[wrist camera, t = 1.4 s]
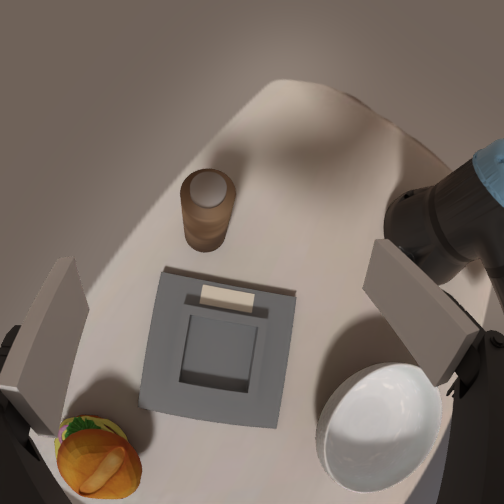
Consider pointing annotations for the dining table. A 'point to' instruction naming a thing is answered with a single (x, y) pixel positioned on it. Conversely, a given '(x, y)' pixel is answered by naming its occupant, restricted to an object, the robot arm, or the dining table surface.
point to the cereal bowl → (378, 427)
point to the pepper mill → (206, 208)
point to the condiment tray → (217, 352)
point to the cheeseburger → (97, 458)
